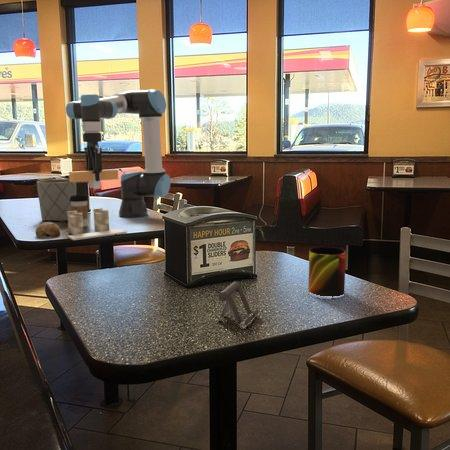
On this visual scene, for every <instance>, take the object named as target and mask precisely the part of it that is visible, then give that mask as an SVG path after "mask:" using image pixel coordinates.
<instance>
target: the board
mask: <svg viewBox="0 0 450 450" xmlns="http://www.w3.org/2000/svg"><path fill="white" fill-rule="evenodd" d="M127 233H128V231H127V230H125V229H121V228H118V229H117V228H116V229H109V230H108V231H101V232H100V231H94V232H87V233H84V234H78V235H73V234H71V235H67V239H69V240H72V241H79V240H86V239H93V238H94V239H95V238H102V237H108V236H116V235H115V234H117V235H122V234H127Z"/></svg>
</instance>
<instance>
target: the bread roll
mask: <svg viewBox="0 0 450 450" xmlns="http://www.w3.org/2000/svg"><path fill="white" fill-rule="evenodd" d="M35 236H36V237H38V238H40V239H48V238H49V237H51V238H56V237H60V236H61V230H60V226H59V225H57V224H56V223H55V222H52V221H45V222H42V223H41V224H39V225H37V226H36V229H35Z"/></svg>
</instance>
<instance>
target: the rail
mask: <svg viewBox="0 0 450 450" xmlns="http://www.w3.org/2000/svg"><path fill="white" fill-rule="evenodd" d="M92 172H94V170H93V171H87V170H78V171H77V170H76V171H68V176H69V178H68V179H69V180H70V182H76V183H80V182H81V183H83V182H89V181H93V173H92ZM112 180H119V169H102V172H100V181H112Z"/></svg>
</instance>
